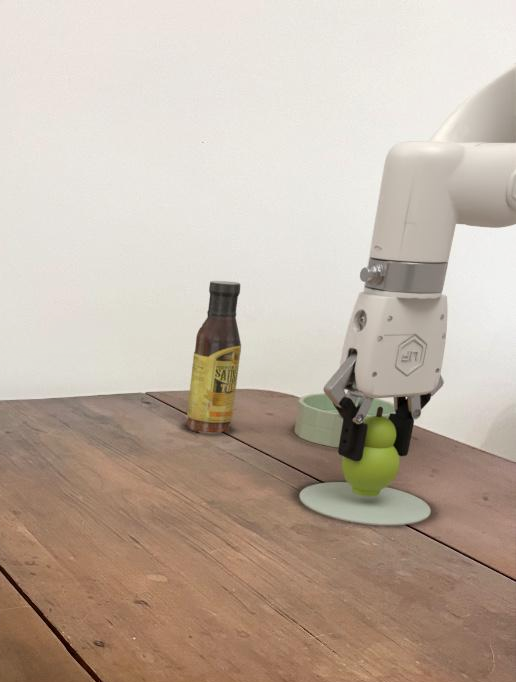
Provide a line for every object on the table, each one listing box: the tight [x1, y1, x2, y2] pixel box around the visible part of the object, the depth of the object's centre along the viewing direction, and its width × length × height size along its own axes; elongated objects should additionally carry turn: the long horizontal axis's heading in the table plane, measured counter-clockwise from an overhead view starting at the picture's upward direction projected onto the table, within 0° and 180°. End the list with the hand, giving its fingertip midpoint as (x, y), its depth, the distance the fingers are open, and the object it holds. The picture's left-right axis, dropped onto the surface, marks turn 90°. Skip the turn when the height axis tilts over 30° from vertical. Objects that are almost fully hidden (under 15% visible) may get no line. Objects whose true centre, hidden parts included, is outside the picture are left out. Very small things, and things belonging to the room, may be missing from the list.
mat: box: [299, 481, 432, 526], centre depth 102 cm, size 14×14×1 cm
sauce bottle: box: [186, 280, 242, 434], centre depth 125 cm, size 6×6×20 cm
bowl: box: [293, 392, 395, 449], centre depth 126 cm, size 13×13×5 cm
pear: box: [341, 407, 401, 496], centre depth 99 cm, size 6×6×10 cm
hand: (372, 453), depth 99 cm, fingers closed on pear, 5 cm apart
